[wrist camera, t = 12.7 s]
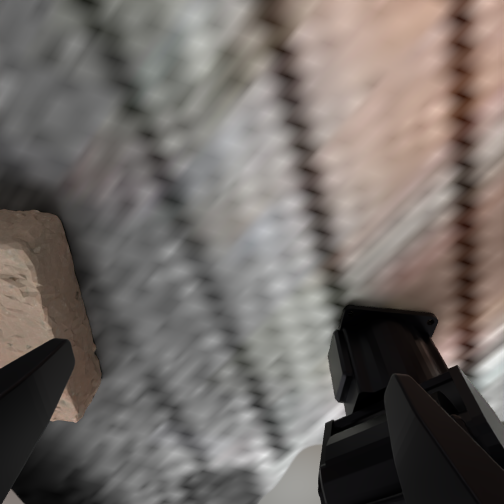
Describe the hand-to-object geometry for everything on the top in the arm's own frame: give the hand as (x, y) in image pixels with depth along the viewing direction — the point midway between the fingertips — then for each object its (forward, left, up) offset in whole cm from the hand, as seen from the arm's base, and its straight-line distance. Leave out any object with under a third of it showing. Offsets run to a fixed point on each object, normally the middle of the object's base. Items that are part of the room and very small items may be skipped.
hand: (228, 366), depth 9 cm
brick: (+17, +10, -14) cm, 24 cm away
